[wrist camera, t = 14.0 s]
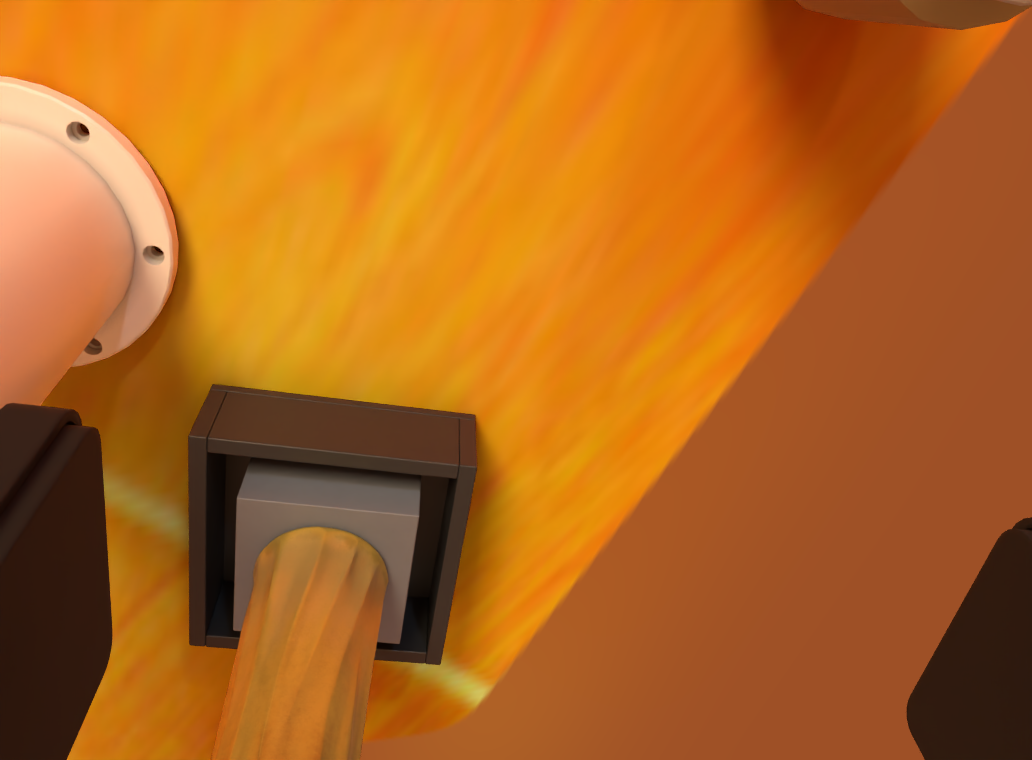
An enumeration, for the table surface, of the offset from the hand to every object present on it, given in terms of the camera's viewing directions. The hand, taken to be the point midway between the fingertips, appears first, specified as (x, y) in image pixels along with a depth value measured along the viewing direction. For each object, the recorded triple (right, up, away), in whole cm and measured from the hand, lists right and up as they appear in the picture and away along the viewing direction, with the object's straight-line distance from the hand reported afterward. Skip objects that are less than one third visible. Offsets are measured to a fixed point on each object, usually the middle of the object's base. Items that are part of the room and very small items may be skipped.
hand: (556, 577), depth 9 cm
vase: (-9, -7, +32) cm, 34 cm away
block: (-10, -5, +36) cm, 38 cm away
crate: (-10, -4, +37) cm, 38 cm away
